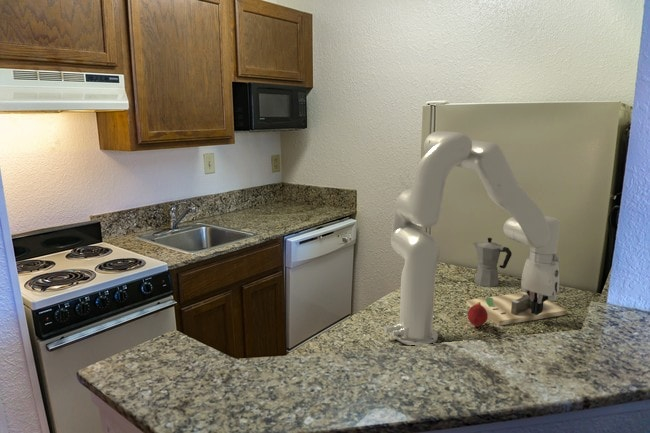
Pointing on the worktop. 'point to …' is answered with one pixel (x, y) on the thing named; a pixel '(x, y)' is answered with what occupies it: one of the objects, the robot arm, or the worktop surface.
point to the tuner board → (501, 309)
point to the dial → (521, 304)
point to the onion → (477, 315)
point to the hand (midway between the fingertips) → (536, 313)
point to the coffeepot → (489, 262)
